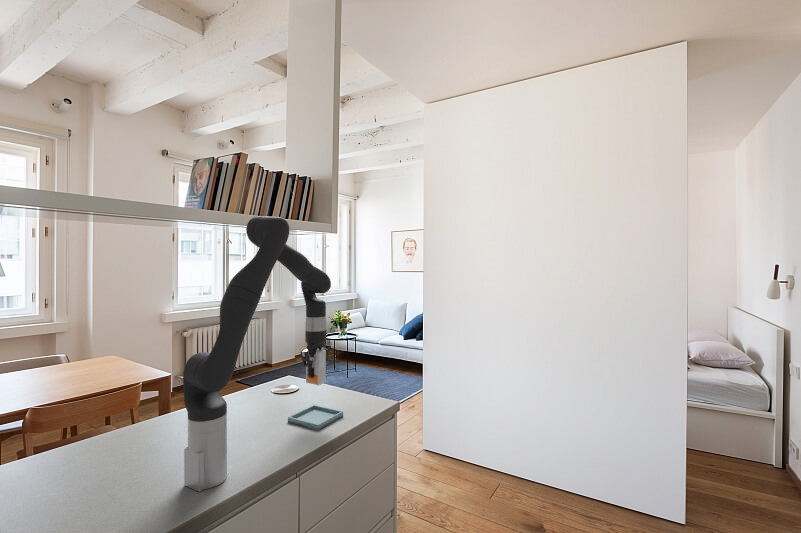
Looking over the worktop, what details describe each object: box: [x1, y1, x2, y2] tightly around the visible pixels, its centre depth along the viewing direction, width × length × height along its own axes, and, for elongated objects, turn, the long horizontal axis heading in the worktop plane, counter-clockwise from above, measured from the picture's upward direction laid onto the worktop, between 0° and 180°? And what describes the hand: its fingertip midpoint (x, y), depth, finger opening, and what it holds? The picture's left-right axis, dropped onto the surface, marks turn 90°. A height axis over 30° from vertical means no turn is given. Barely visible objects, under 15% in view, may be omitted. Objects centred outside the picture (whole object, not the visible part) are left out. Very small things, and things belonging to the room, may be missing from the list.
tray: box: [287, 404, 344, 431], centre depth 145 cm, size 14×14×2 cm
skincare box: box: [305, 350, 327, 386], centre depth 144 cm, size 6×4×12 cm
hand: (315, 375), depth 145 cm, fingers closed on skincare box, 4 cm apart
